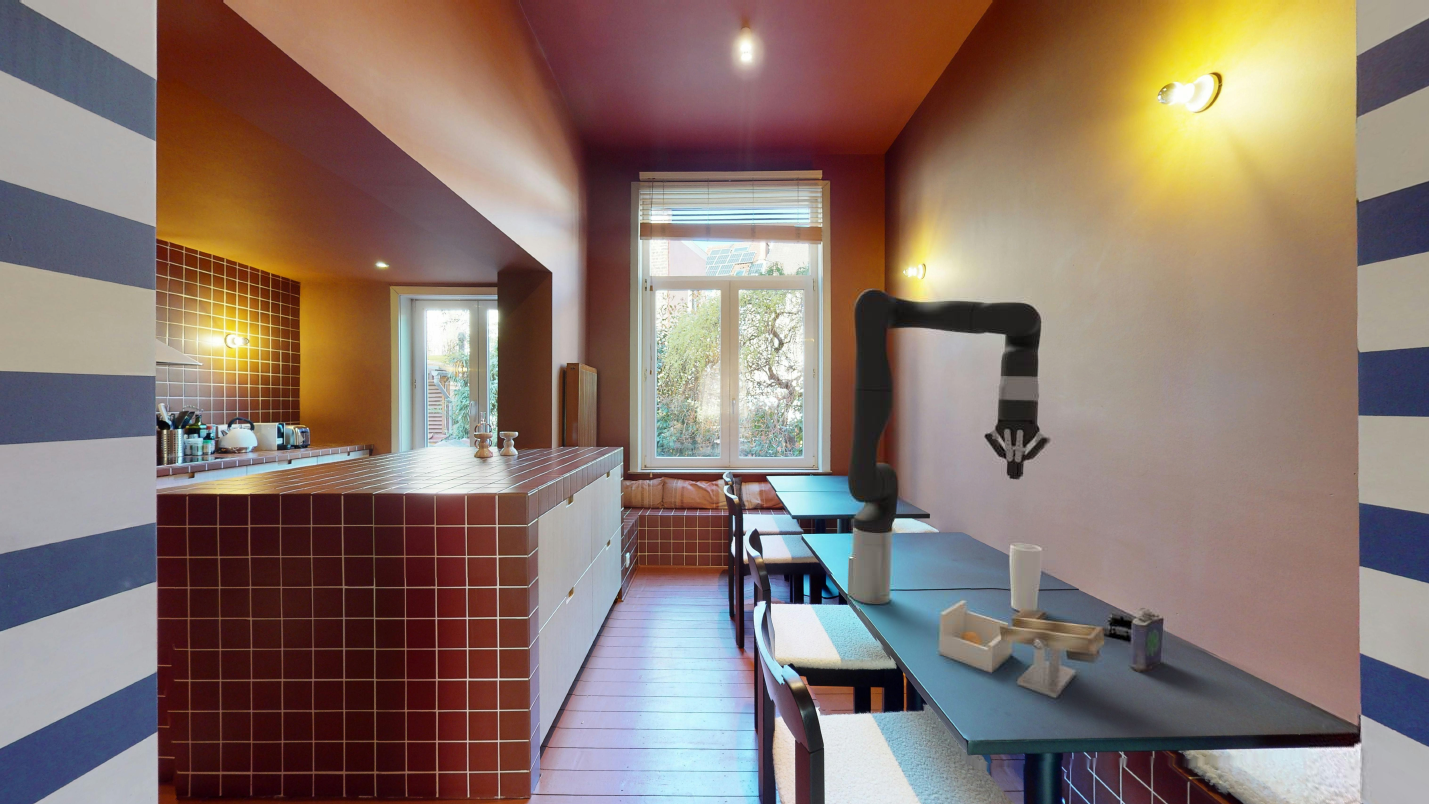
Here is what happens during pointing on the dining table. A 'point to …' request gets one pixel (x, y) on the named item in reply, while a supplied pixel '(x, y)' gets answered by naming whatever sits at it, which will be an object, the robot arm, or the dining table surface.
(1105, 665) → the dining table surface
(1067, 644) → the chute
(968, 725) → the dining table surface
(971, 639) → the ball
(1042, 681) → the stand
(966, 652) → the white open bin
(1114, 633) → the black blocky device
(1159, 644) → the flask
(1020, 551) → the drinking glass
